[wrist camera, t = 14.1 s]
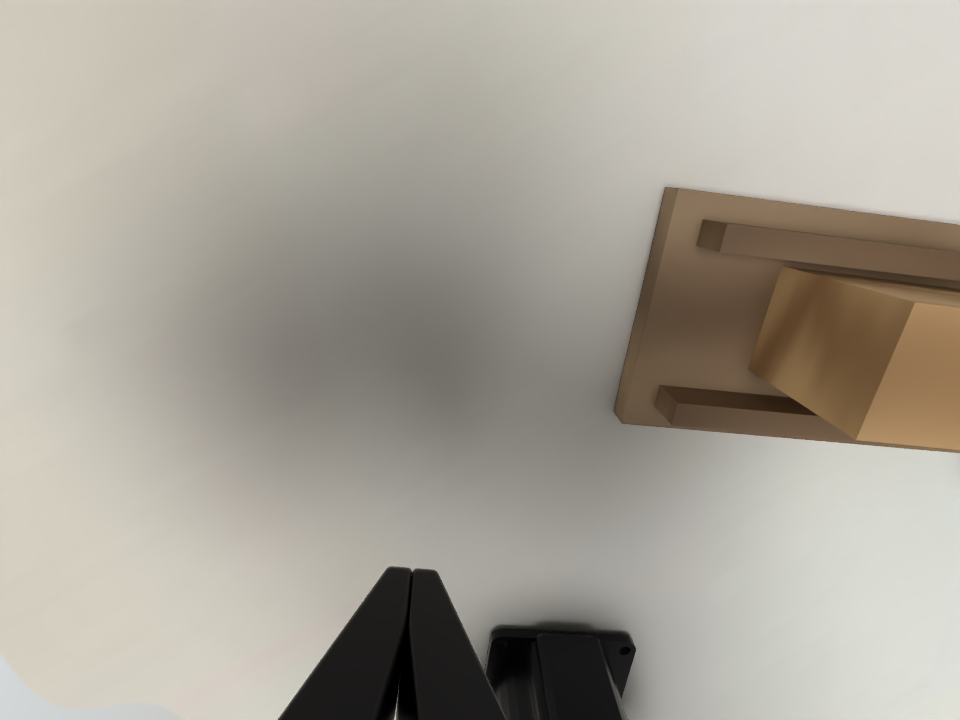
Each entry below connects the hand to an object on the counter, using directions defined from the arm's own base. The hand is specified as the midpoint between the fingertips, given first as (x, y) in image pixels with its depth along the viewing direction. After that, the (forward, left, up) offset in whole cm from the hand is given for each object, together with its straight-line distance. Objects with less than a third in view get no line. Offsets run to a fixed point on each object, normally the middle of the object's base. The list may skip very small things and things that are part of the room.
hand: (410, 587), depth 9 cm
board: (+3, -17, -10) cm, 20 cm away
